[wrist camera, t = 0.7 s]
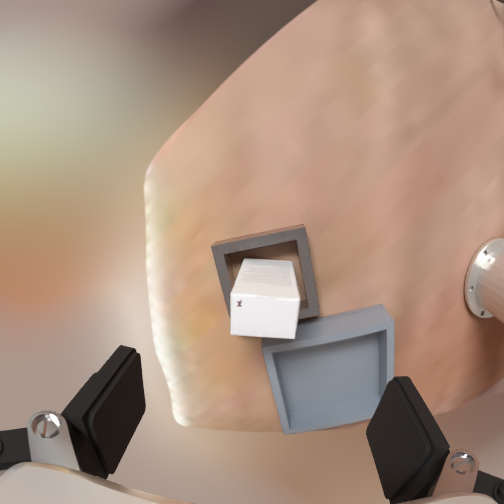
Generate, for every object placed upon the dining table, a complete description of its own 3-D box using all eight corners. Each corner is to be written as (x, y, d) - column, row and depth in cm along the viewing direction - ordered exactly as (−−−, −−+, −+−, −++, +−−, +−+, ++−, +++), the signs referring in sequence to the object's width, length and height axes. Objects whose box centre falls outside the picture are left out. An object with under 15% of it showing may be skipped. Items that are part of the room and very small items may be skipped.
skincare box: (242, 289, 38) (227, 335, 26) (244, 256, 37) (228, 291, 25) (290, 293, 37) (295, 341, 26) (294, 260, 36) (301, 297, 25)
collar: (303, 223, 35) (305, 227, 33) (317, 306, 37) (320, 315, 35) (215, 242, 37) (210, 246, 34) (235, 321, 39) (233, 330, 36)
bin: (381, 303, 37) (393, 320, 32) (383, 392, 40) (391, 412, 35) (263, 327, 39) (261, 347, 34) (284, 412, 42) (283, 434, 37)
